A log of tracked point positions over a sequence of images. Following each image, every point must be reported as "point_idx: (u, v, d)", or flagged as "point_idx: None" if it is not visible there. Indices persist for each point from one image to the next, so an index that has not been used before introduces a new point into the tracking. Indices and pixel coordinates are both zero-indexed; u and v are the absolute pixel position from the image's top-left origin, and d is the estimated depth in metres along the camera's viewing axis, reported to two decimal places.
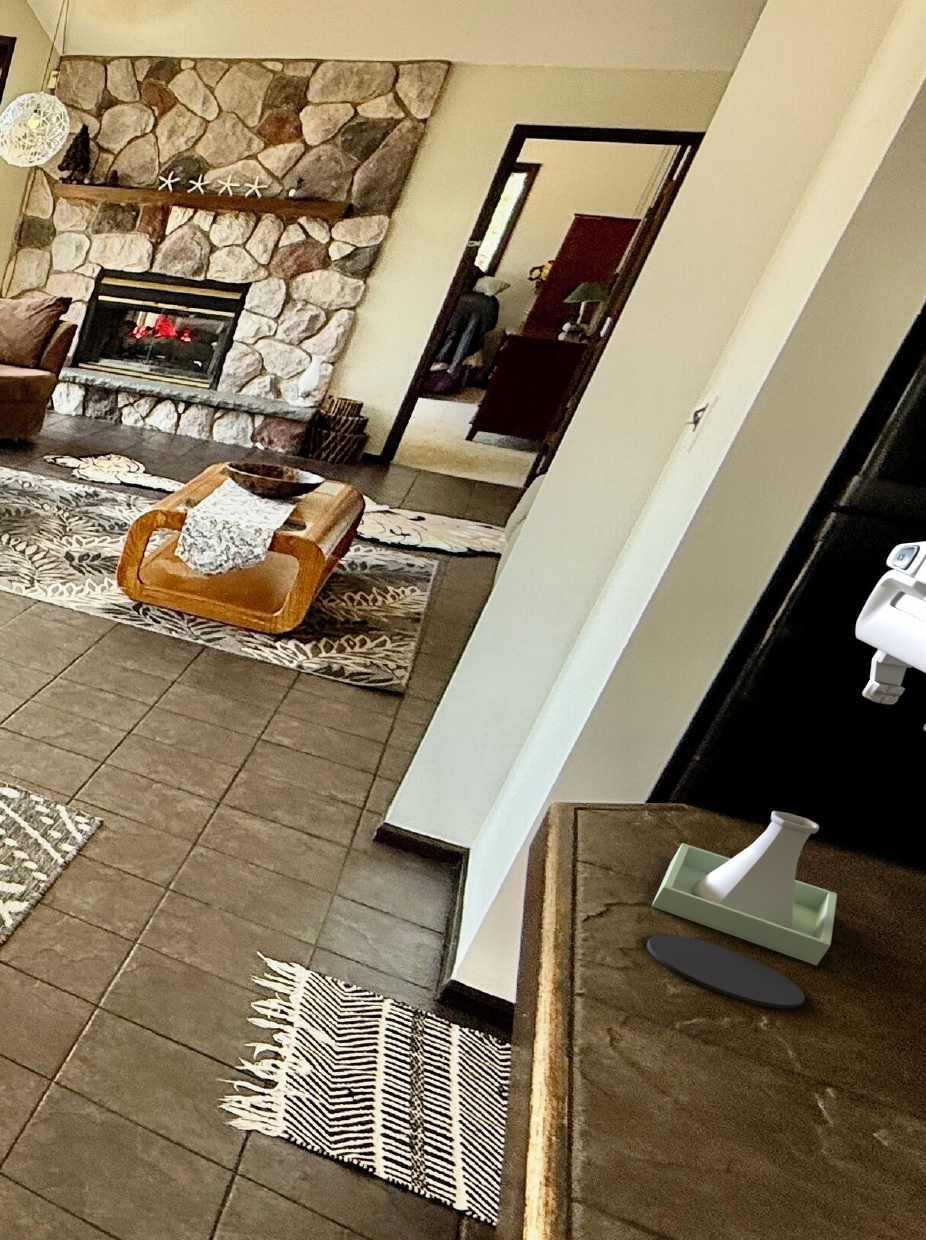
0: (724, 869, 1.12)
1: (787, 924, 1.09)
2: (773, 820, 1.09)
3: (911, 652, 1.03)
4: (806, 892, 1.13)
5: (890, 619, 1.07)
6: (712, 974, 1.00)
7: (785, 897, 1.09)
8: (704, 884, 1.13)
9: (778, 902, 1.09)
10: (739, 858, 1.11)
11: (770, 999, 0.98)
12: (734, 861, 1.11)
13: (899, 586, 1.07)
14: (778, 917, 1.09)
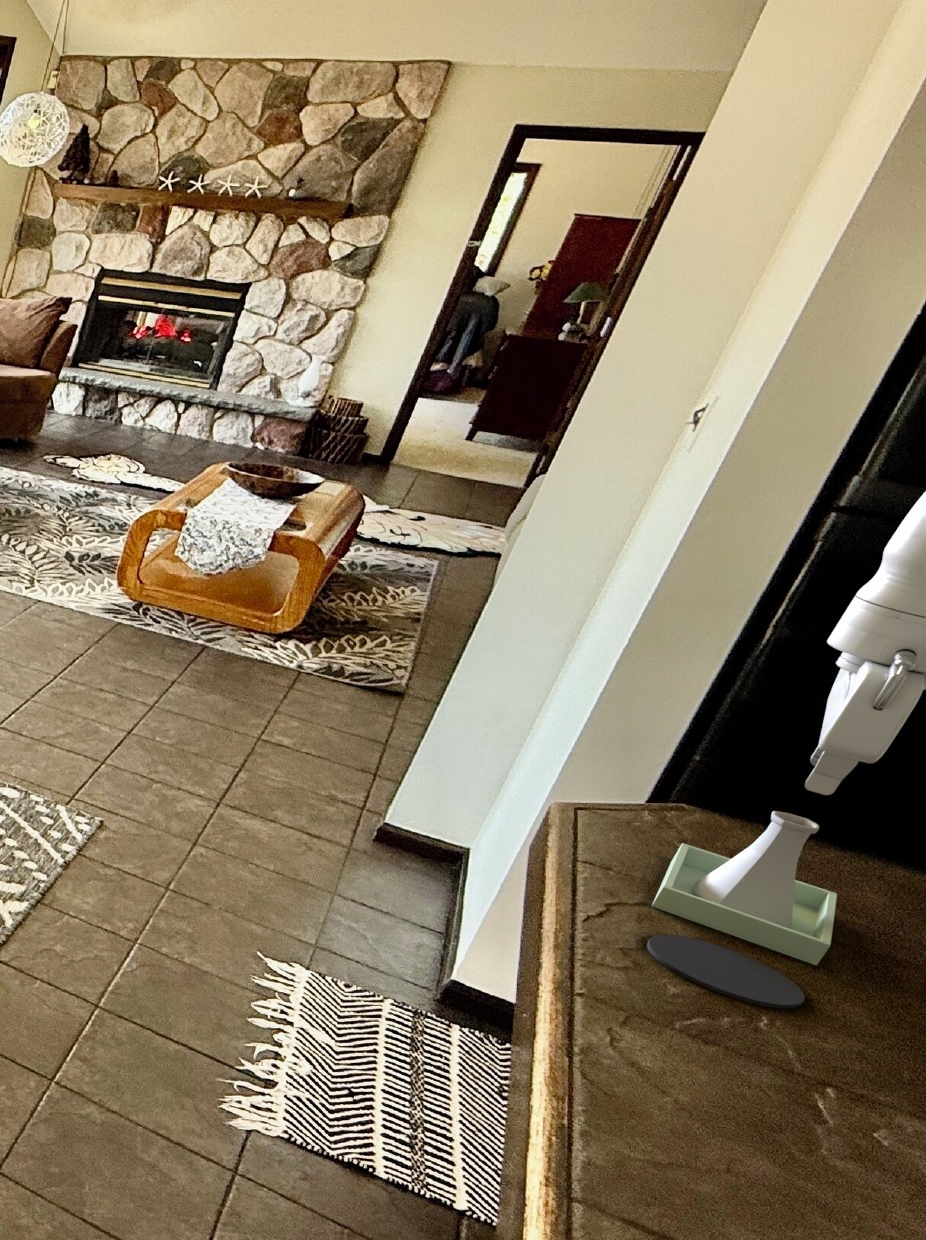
0: (724, 869, 1.12)
1: (787, 924, 1.09)
2: (773, 820, 1.09)
3: (827, 713, 1.06)
4: (806, 892, 1.13)
5: (840, 686, 1.08)
6: (712, 974, 1.00)
7: (785, 897, 1.09)
8: (704, 884, 1.13)
9: (778, 902, 1.09)
10: (739, 858, 1.11)
11: (770, 999, 0.98)
12: (734, 861, 1.11)
13: None
14: (778, 917, 1.09)
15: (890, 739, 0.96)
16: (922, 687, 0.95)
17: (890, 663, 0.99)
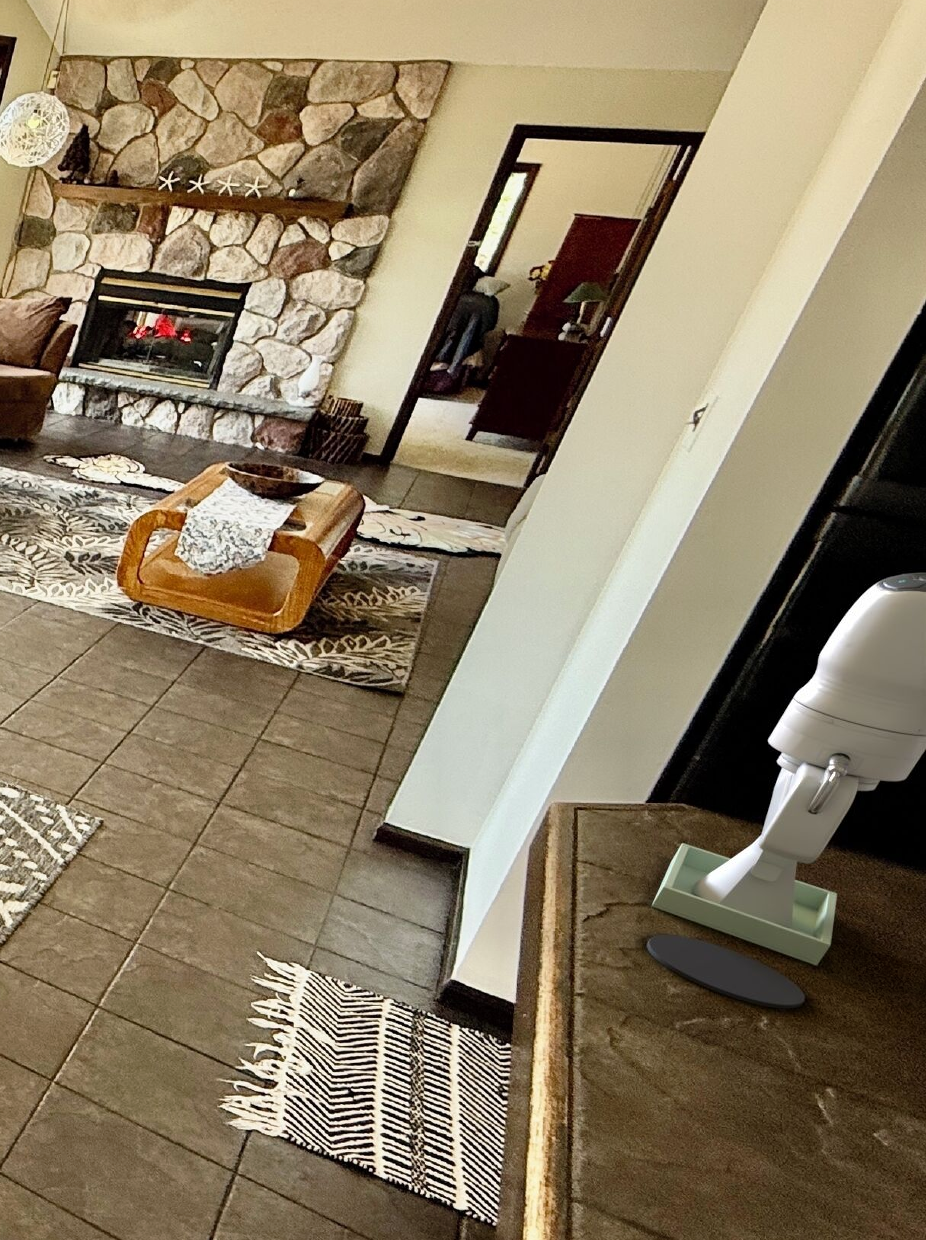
0: (724, 869, 1.12)
1: (787, 924, 1.09)
2: None
3: (770, 807, 1.10)
4: (806, 892, 1.13)
5: (783, 779, 1.12)
6: (712, 974, 1.00)
7: (785, 897, 1.09)
8: (704, 884, 1.13)
9: (778, 902, 1.09)
10: (739, 858, 1.11)
11: (770, 999, 0.98)
12: (734, 861, 1.11)
13: None
14: (778, 917, 1.09)
15: (825, 842, 1.00)
16: (854, 793, 1.00)
17: (826, 766, 1.03)
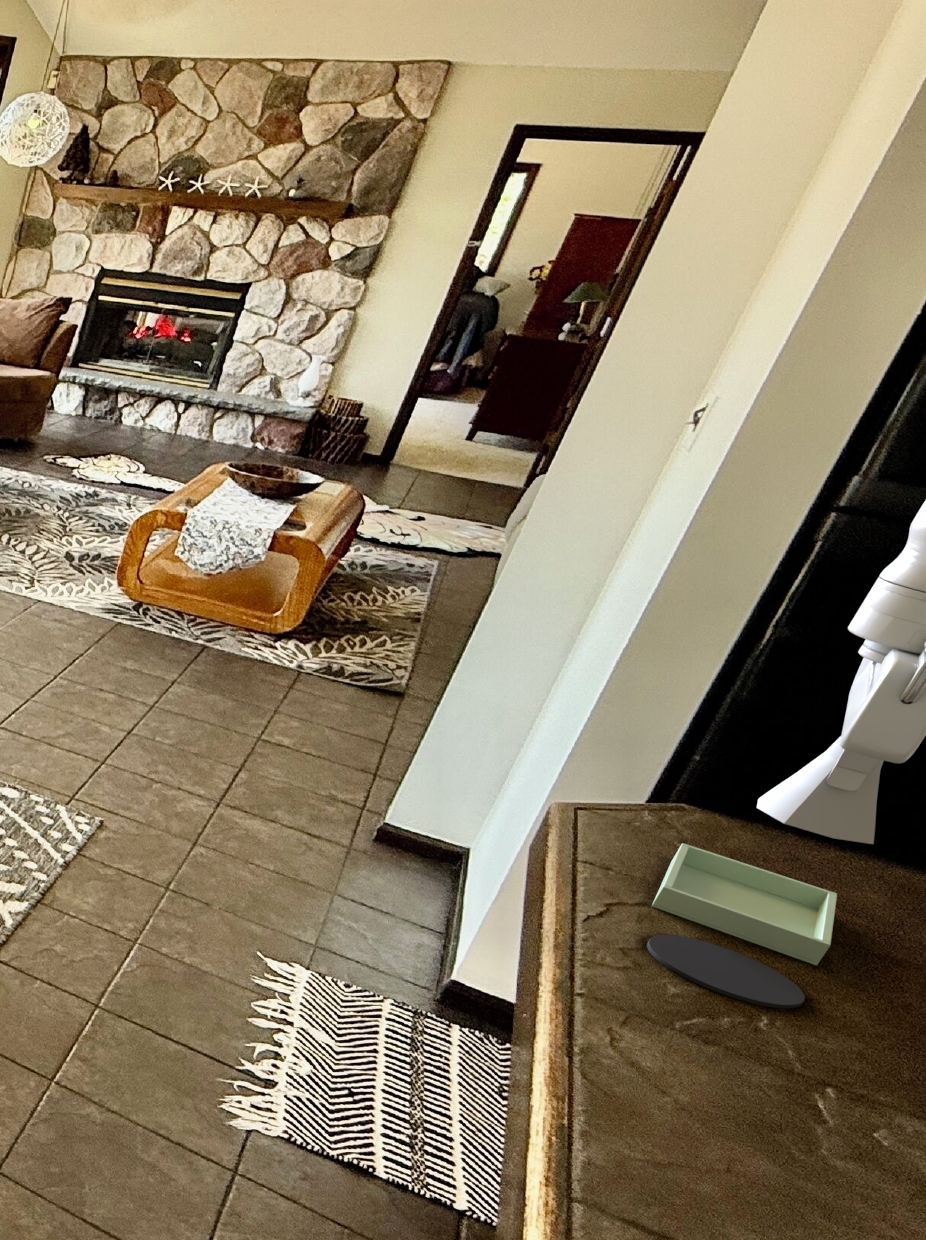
0: (794, 780, 0.97)
1: (869, 840, 0.94)
2: None
3: (849, 707, 0.95)
4: (806, 892, 1.13)
5: (863, 677, 0.98)
6: (712, 974, 1.00)
7: (867, 809, 0.94)
8: (770, 798, 0.98)
9: (858, 815, 0.94)
10: (812, 766, 0.97)
11: (770, 999, 0.98)
12: (805, 770, 0.97)
13: None
14: (858, 832, 0.94)
15: (921, 736, 0.86)
16: None
17: (919, 651, 0.89)
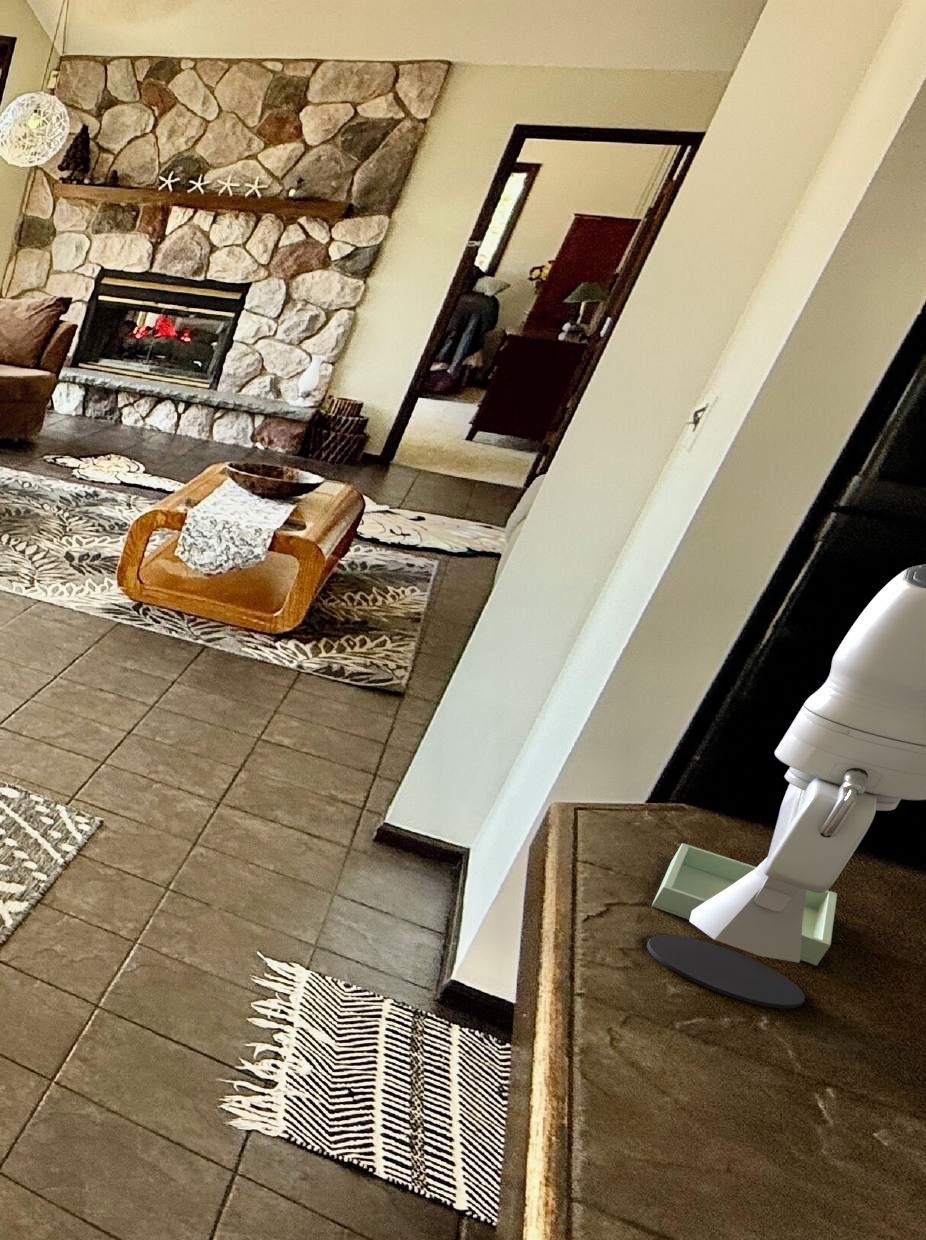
0: (724, 896, 1.00)
1: (795, 959, 0.97)
2: None
3: (776, 828, 0.98)
4: (806, 892, 1.13)
5: (792, 796, 1.00)
6: (712, 974, 1.00)
7: (793, 928, 0.97)
8: (702, 912, 1.01)
9: (785, 934, 0.97)
10: (741, 883, 0.99)
11: (770, 999, 0.98)
12: (735, 887, 0.99)
13: None
14: (785, 951, 0.97)
15: (839, 869, 0.88)
16: (873, 813, 0.88)
17: (840, 782, 0.91)
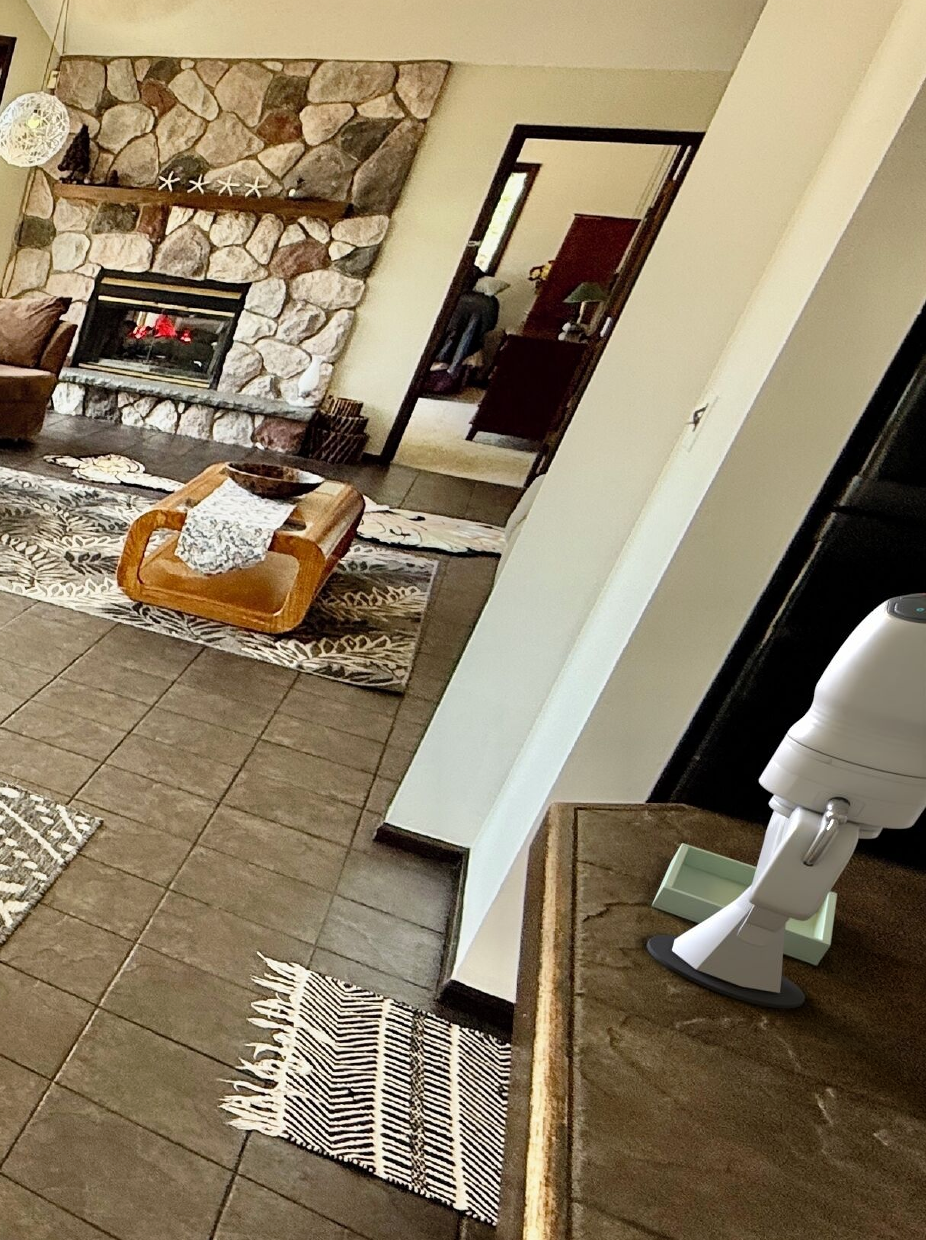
0: (706, 926, 1.01)
1: (775, 989, 0.98)
2: None
3: (761, 854, 0.99)
4: None
5: (776, 822, 1.01)
6: None
7: (773, 959, 0.98)
8: (684, 942, 1.02)
9: (765, 965, 0.98)
10: (723, 914, 1.00)
11: (770, 999, 0.98)
12: (717, 918, 1.01)
13: None
14: (765, 981, 0.98)
15: (822, 898, 0.89)
16: (855, 843, 0.89)
17: (823, 811, 0.92)
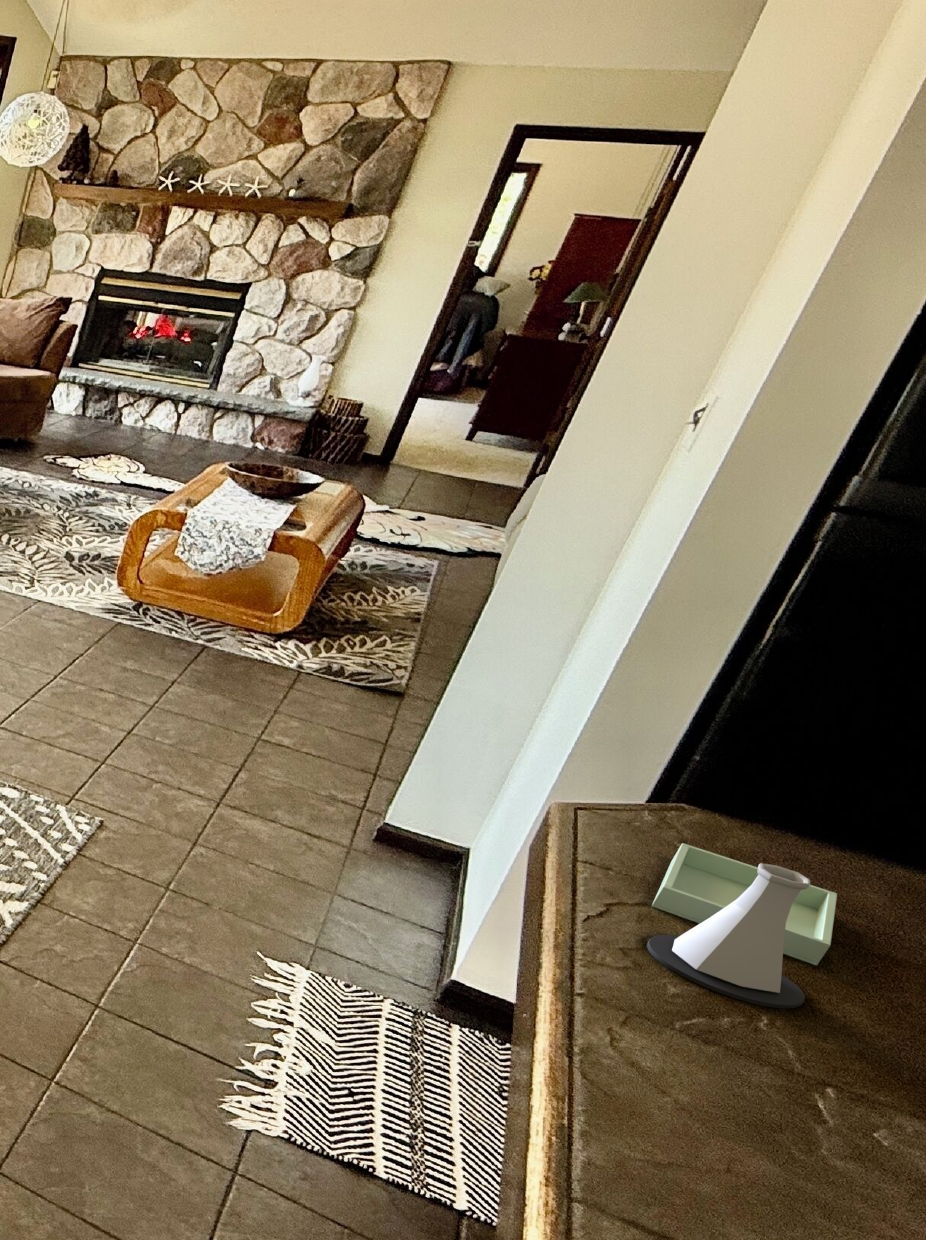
0: (706, 926, 1.01)
1: (775, 989, 0.98)
2: (760, 874, 0.98)
3: None
4: (806, 892, 1.13)
5: None
6: None
7: (773, 959, 0.98)
8: (684, 942, 1.02)
9: (765, 965, 0.98)
10: (723, 914, 1.00)
11: (770, 999, 0.98)
12: (717, 918, 1.01)
13: None
14: (765, 981, 0.98)
15: None
16: None
17: None
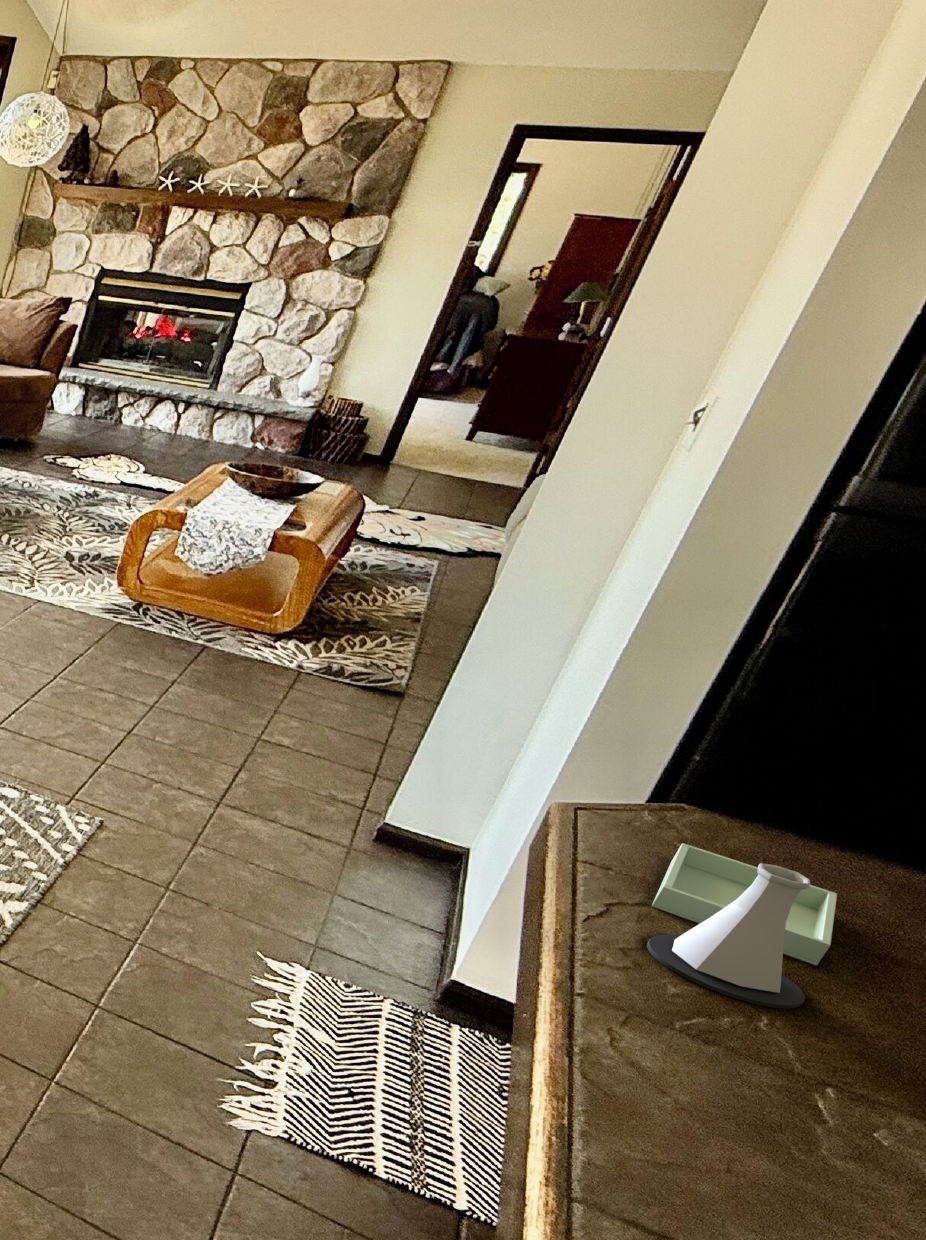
0: (706, 926, 1.01)
1: (775, 989, 0.98)
2: (760, 874, 0.98)
3: None
4: (806, 892, 1.13)
5: None
6: None
7: (773, 959, 0.98)
8: (684, 942, 1.02)
9: (765, 965, 0.98)
10: (723, 914, 1.00)
11: (770, 999, 0.98)
12: (717, 918, 1.01)
13: None
14: (765, 981, 0.98)
15: None
16: None
17: None
